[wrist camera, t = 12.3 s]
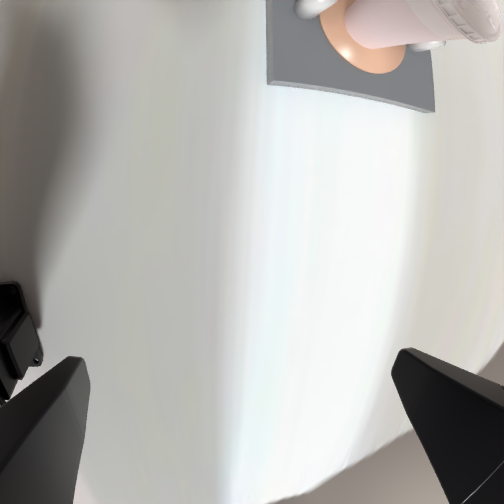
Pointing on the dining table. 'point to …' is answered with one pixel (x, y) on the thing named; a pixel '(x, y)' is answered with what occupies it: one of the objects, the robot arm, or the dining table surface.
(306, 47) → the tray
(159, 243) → the dining table surface
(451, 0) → the smoothie
